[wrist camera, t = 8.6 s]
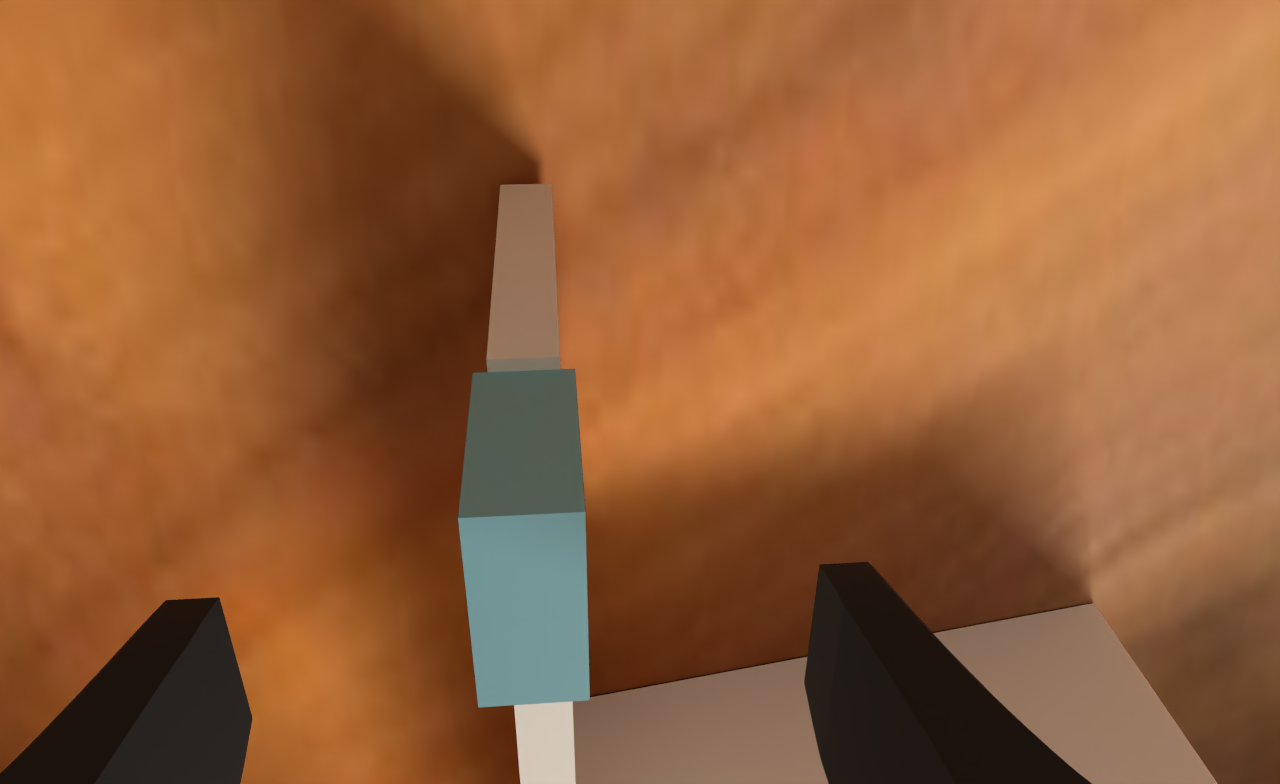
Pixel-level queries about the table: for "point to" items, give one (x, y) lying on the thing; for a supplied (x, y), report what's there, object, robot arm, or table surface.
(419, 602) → the table surface
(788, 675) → the carton
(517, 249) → the green beige flat block
